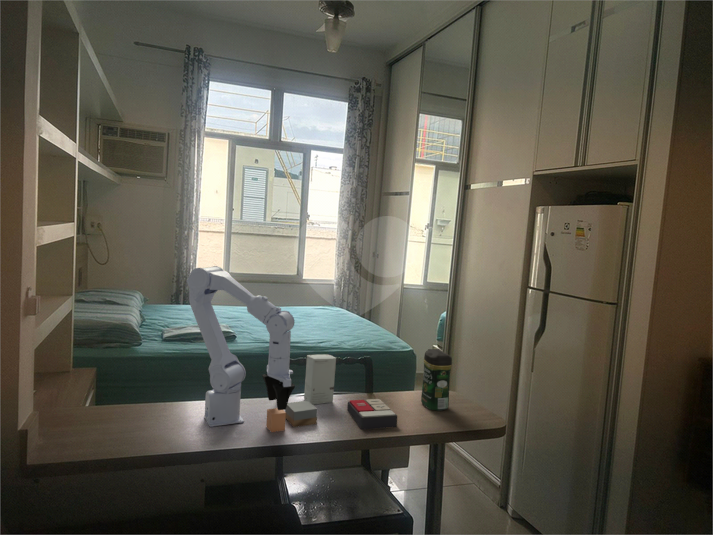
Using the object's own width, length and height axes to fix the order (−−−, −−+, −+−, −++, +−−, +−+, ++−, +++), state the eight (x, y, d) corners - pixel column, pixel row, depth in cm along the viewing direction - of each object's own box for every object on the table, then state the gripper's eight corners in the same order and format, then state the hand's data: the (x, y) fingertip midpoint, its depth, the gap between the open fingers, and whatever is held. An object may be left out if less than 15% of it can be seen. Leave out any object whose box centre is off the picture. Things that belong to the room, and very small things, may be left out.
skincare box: (310, 405, 150) (312, 359, 149) (303, 399, 155) (305, 354, 154) (334, 402, 154) (336, 357, 153) (326, 396, 159) (329, 352, 158)
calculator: (380, 397, 151) (398, 413, 137) (379, 410, 152) (397, 428, 137) (347, 399, 148) (361, 415, 134) (346, 412, 148) (361, 430, 134)
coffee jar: (417, 401, 160) (421, 347, 158) (438, 400, 162) (443, 347, 160) (429, 412, 150) (433, 354, 149) (451, 411, 152) (456, 354, 151)
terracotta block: (270, 432, 128) (271, 414, 128) (266, 426, 132) (267, 409, 132) (284, 430, 130) (285, 412, 130) (280, 424, 134) (280, 407, 134)
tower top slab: (294, 420, 132) (294, 411, 132) (285, 411, 139) (285, 403, 138) (316, 417, 136) (317, 408, 136) (307, 408, 142) (307, 400, 142)
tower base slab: (293, 429, 133) (294, 420, 133) (285, 419, 139) (285, 411, 139) (316, 425, 136) (317, 417, 136) (307, 416, 142) (307, 408, 142)
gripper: (302, 361, 125) (300, 411, 126) (283, 348, 138) (281, 394, 139) (277, 364, 122) (275, 415, 123) (260, 350, 135) (258, 397, 136)
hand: (277, 404), depth 131 cm, fingers open, 7 cm apart
